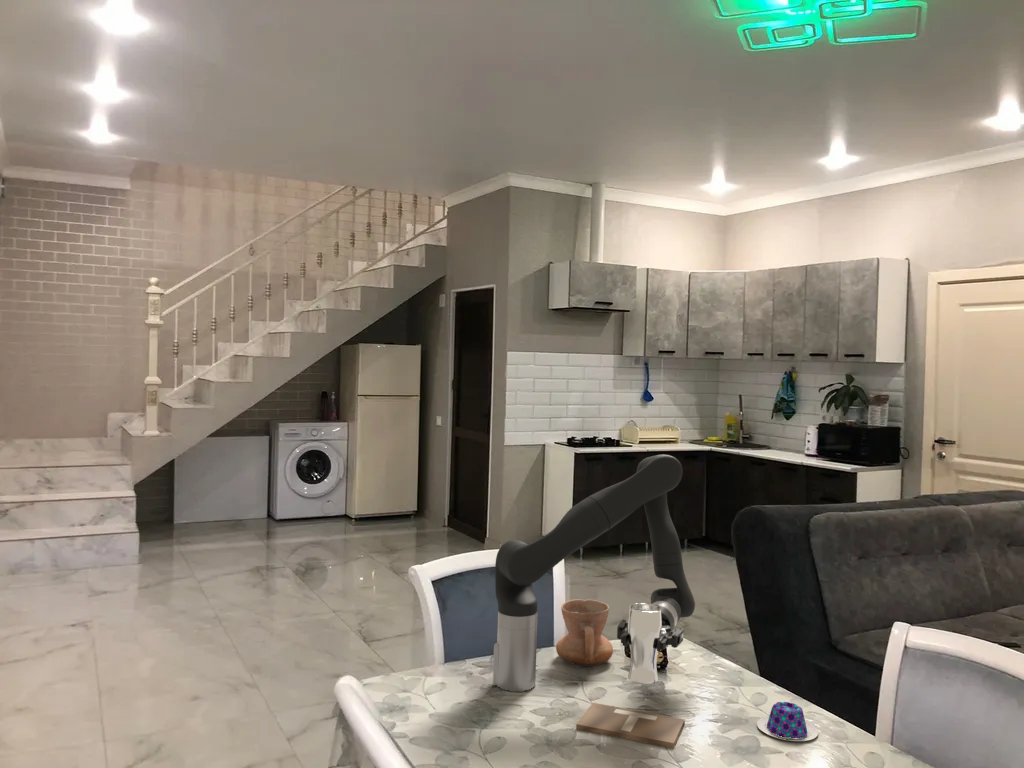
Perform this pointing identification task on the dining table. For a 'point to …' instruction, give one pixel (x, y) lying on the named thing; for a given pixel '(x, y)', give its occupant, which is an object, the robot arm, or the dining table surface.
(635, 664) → the beer glass
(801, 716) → the pudding
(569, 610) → the ceramic jug
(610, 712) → the board
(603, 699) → the dining table surface
